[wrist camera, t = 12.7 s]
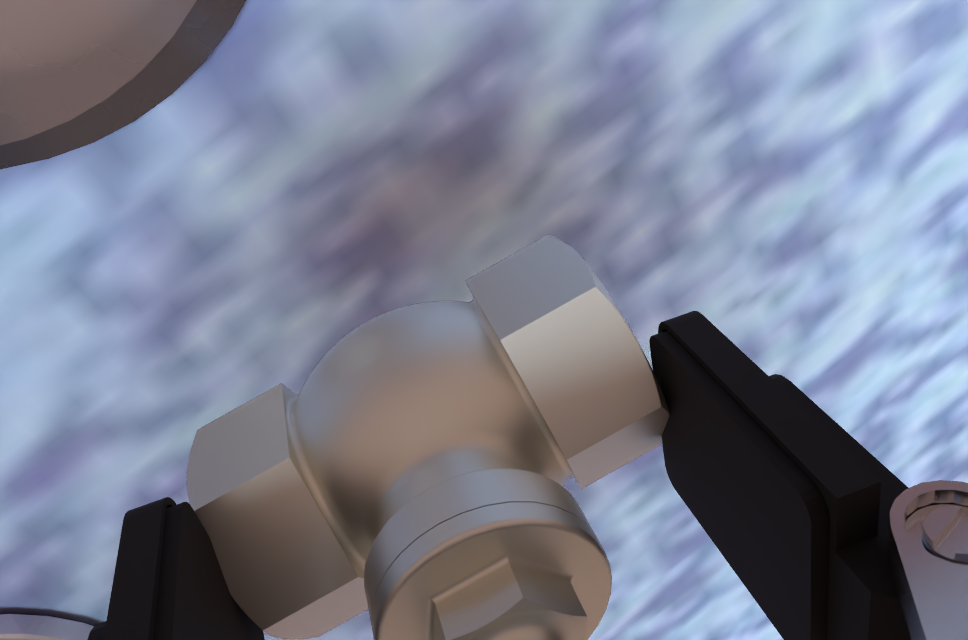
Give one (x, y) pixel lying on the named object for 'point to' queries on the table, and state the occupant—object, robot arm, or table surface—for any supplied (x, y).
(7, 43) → the handwheel
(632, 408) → the valve
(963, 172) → the table surface
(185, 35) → the plinth
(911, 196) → the table surface
